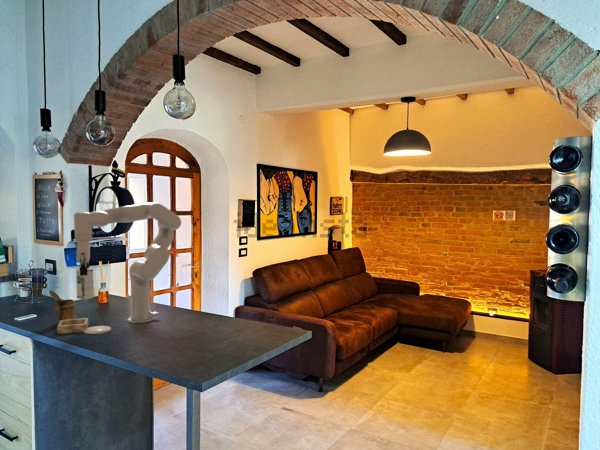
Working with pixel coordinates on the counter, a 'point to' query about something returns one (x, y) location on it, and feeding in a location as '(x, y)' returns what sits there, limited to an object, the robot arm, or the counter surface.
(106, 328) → the cream shiny round part
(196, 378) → the counter surface
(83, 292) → the syrup box
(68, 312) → the wooden mug
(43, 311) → the counter surface
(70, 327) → the oak collar
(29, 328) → the counter surface
